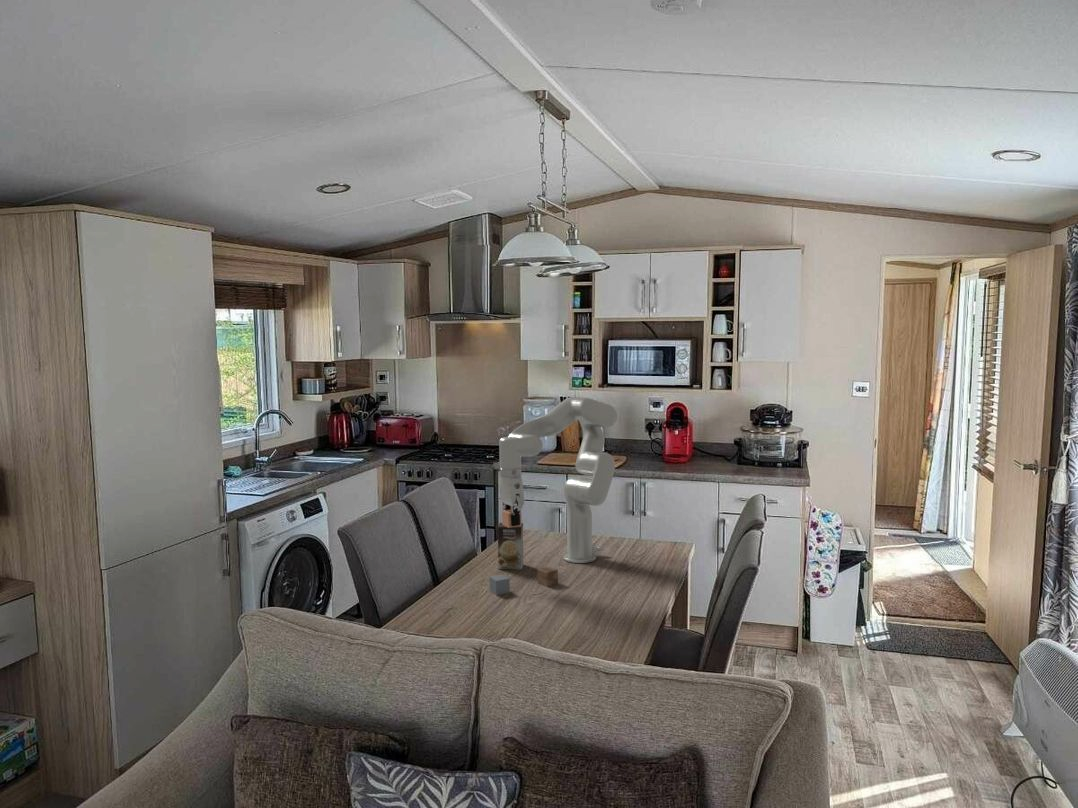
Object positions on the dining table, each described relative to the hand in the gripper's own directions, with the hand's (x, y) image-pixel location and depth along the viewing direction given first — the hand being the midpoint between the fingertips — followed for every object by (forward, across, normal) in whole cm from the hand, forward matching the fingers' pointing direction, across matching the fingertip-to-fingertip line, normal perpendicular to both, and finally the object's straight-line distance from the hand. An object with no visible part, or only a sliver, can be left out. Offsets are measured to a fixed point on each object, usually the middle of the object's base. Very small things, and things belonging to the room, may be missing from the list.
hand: (511, 523), depth 263 cm
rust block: (+1, 0, 0) cm, 1 cm away
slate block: (+21, -8, +9) cm, 24 cm away
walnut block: (+21, -9, -9) cm, 24 cm away
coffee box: (+21, +14, -6) cm, 26 cm away
